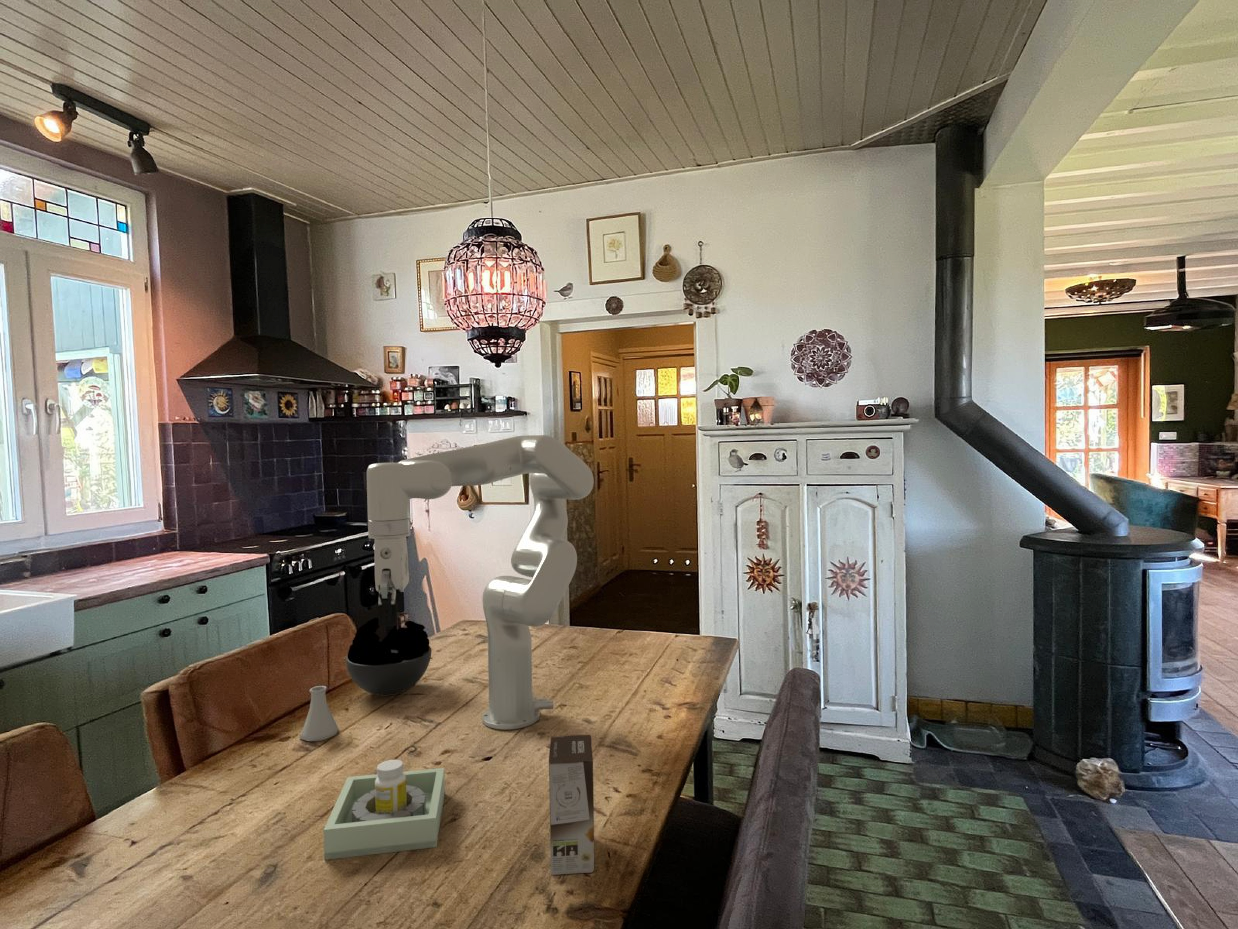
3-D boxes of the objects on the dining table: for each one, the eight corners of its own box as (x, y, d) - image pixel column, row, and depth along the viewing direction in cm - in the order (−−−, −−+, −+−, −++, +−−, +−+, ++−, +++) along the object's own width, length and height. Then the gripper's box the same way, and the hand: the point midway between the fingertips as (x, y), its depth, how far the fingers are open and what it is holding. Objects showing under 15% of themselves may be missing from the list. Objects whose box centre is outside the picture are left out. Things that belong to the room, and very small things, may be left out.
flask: (324, 744, 138) (322, 695, 138) (292, 741, 140) (291, 693, 139) (345, 729, 145) (343, 683, 145) (315, 726, 147) (313, 681, 146)
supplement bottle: (402, 806, 112) (401, 755, 112) (410, 818, 108) (409, 766, 108) (372, 815, 109) (371, 763, 109) (379, 828, 105) (378, 774, 105)
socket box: (444, 793, 118) (444, 767, 118) (436, 847, 102) (435, 817, 102) (348, 803, 115) (347, 777, 115) (324, 860, 99) (323, 830, 99)
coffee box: (595, 873, 95) (593, 761, 95) (550, 876, 95) (548, 764, 94) (592, 835, 104) (591, 733, 104) (551, 838, 104) (549, 735, 103)
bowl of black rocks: (335, 691, 168) (333, 616, 167) (414, 673, 180) (412, 603, 179) (362, 716, 152) (359, 633, 151) (445, 694, 164) (443, 618, 164)
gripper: (404, 533, 118) (406, 630, 119) (415, 522, 135) (418, 607, 136) (359, 535, 117) (362, 633, 118) (376, 523, 134) (379, 609, 135)
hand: (392, 619), depth 127 cm, fingers open, 9 cm apart
